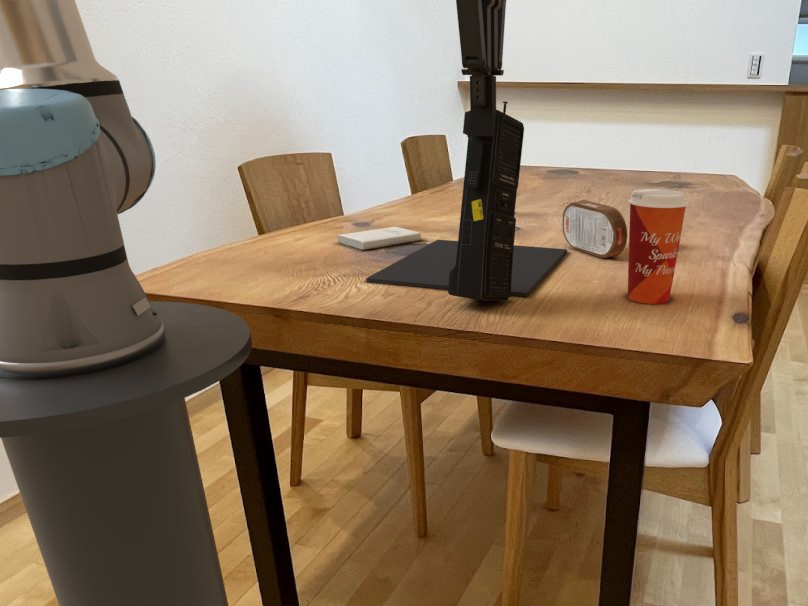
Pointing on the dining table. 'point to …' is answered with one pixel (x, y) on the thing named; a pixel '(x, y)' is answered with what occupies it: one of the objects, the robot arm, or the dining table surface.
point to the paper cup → (654, 243)
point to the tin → (594, 228)
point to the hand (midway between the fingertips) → (483, 135)
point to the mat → (440, 259)
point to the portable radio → (488, 212)
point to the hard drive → (378, 238)
